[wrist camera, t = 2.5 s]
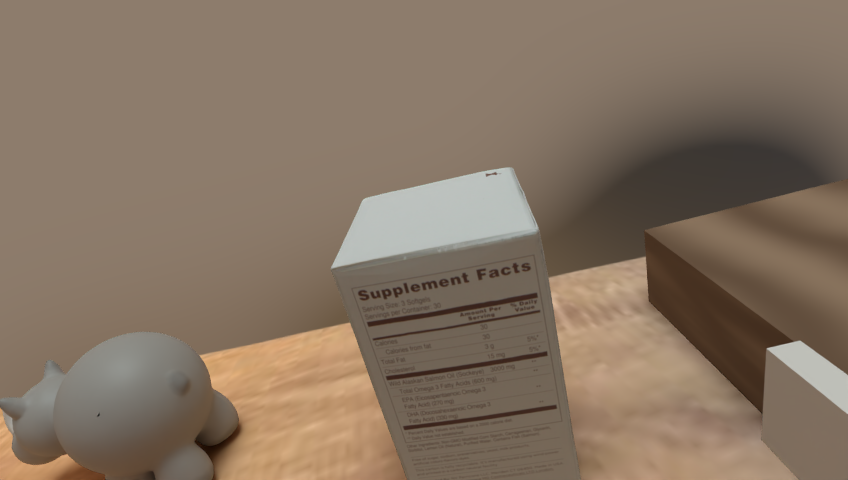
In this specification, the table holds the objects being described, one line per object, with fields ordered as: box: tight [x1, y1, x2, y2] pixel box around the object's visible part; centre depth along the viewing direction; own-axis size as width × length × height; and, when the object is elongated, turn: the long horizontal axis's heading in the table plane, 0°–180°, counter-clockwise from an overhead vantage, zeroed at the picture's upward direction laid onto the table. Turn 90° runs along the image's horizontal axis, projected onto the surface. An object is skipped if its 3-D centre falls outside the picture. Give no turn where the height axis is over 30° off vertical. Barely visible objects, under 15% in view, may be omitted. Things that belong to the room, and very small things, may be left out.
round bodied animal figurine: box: [0, 332, 239, 480], centre depth 27 cm, size 7×12×8 cm, turn 85°
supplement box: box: [331, 168, 581, 480], centre depth 22 cm, size 7×7×13 cm
